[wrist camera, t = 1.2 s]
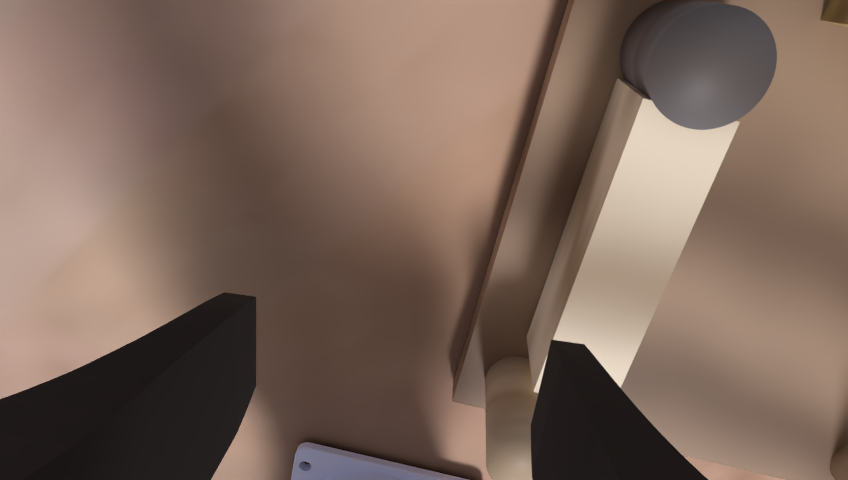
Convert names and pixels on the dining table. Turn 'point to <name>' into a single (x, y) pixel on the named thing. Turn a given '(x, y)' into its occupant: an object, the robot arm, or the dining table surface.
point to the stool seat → (696, 260)
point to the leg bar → (650, 174)
